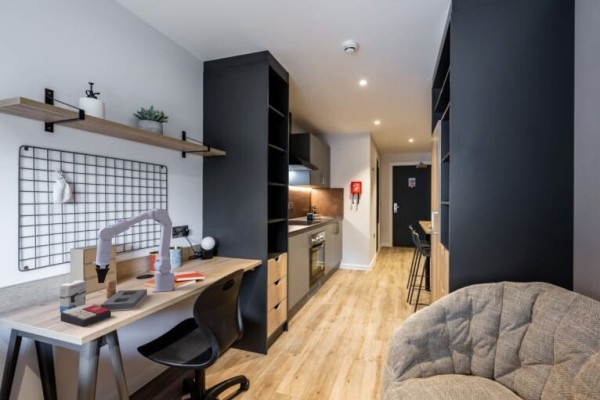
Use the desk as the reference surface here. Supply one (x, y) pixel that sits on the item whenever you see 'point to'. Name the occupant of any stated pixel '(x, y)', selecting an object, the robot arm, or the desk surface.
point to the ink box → (72, 295)
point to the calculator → (85, 315)
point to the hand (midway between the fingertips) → (101, 281)
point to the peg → (111, 288)
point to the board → (125, 300)
